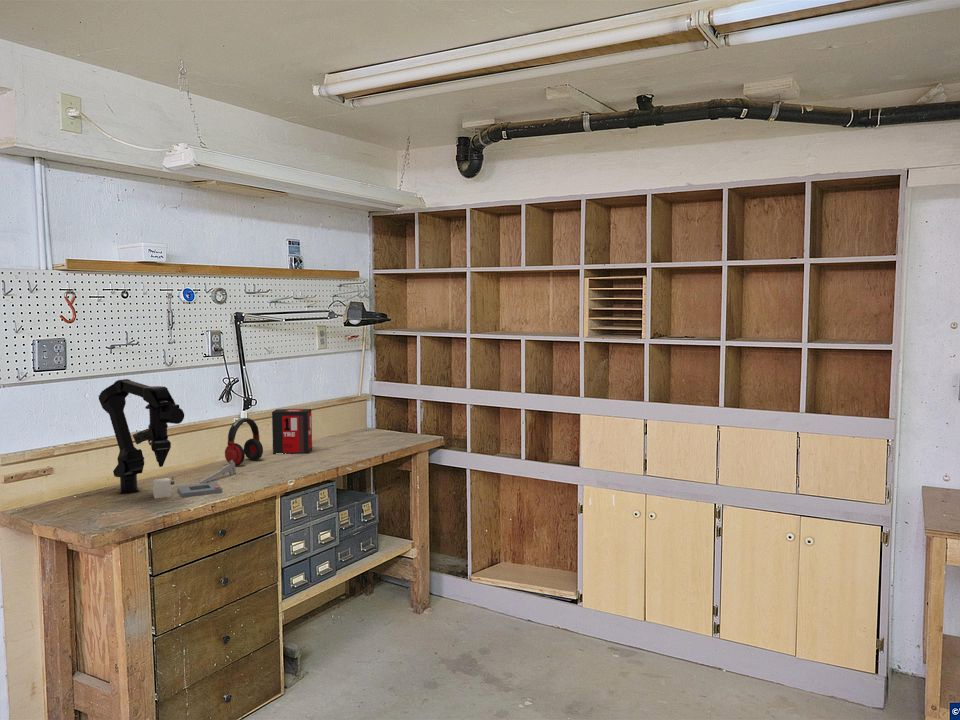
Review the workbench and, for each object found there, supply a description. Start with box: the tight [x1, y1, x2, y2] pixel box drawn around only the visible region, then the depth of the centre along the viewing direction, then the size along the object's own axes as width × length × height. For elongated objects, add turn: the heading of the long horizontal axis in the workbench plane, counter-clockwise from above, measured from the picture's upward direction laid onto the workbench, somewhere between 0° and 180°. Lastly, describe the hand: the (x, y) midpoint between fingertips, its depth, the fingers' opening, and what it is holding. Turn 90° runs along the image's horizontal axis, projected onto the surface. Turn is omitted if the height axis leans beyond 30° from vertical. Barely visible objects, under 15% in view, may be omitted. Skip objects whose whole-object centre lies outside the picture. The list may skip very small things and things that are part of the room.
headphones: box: [224, 417, 264, 467], centre depth 320 cm, size 18×10×20 cm, turn 157°
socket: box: [177, 481, 223, 499], centre depth 271 cm, size 12×14×2 cm
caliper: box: [197, 460, 237, 484], centre depth 290 cm, size 20×1×6 cm, turn 157°
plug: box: [152, 477, 175, 499], centre depth 264 cm, size 4×7×6 cm, turn 120°
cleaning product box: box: [271, 408, 313, 455], centre depth 343 cm, size 16×9×20 cm, turn 92°
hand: (159, 464), depth 263 cm, fingers open, 9 cm apart
